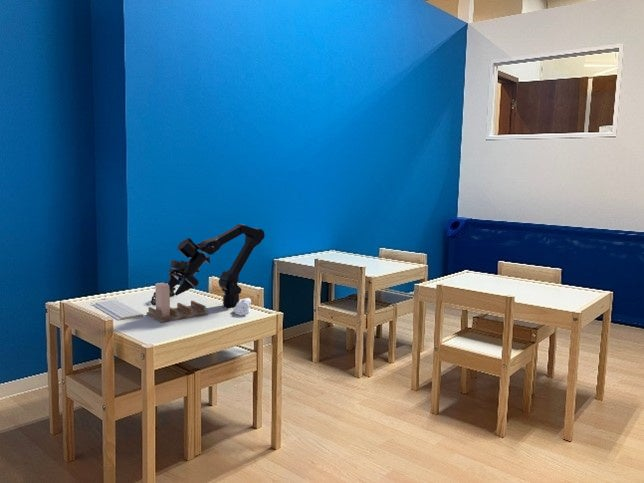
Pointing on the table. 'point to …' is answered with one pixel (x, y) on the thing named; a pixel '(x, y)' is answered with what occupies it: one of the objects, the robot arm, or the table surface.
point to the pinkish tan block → (163, 298)
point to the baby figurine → (242, 307)
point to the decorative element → (155, 295)
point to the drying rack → (179, 312)
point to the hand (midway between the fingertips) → (170, 292)
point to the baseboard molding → (117, 309)
